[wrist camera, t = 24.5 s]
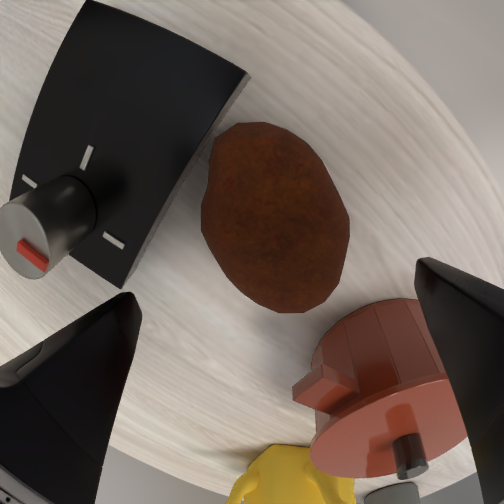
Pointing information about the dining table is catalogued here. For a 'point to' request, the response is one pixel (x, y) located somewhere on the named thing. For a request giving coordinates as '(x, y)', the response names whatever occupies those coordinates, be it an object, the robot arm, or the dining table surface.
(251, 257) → the potato
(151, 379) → the dining table surface
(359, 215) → the dining table surface
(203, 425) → the dining table surface
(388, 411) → the pot lid
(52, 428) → the robot arm
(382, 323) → the pot
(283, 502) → the teapot
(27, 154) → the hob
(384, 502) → the water bottle
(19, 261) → the hob knob
